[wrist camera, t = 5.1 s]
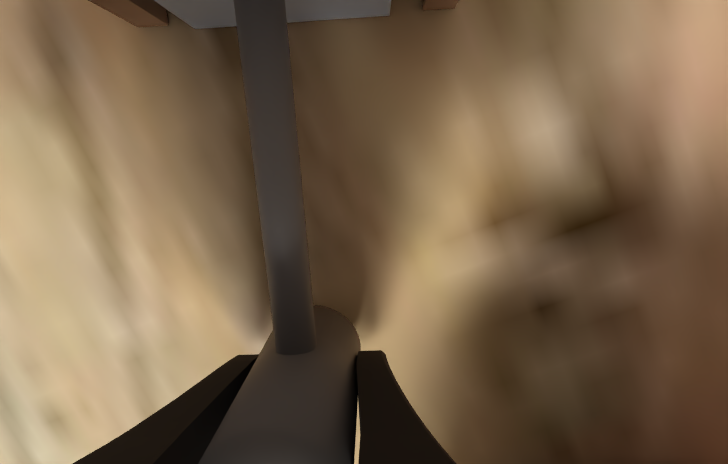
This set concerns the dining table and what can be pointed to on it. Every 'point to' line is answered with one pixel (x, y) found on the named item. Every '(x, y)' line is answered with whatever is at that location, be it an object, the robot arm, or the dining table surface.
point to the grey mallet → (285, 257)
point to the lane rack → (142, 11)
